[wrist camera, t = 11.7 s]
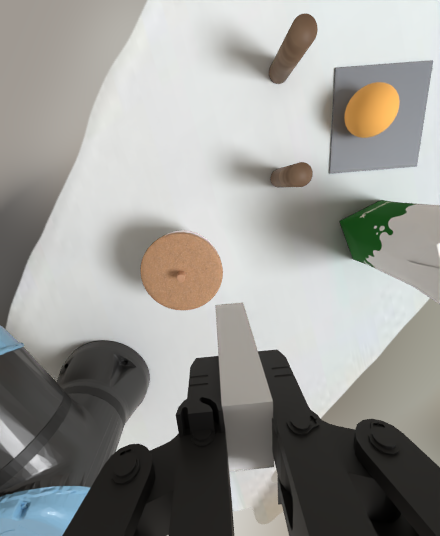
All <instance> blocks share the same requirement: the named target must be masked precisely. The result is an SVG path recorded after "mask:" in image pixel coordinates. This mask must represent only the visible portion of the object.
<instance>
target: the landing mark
mask: <svg viewBox="0 0 440 536" xmlns="http://www.w3.org/2000/svg"><path fill="white" fill-rule="evenodd" d="M432 65H433V61H419V62H406V63H393V64H379V65H366V66H352V67H339V68H335V82H334V101H333V119H332V138H331V156H330V173H342V172H354V171H366V170H378V169H390V168H402V167H414V166H417V162H418V156H419V149H420V143H421V136H422V130H423V123H424V117H425V110H426V104H427V97H428V91H429V84H430V78H431V71H432ZM376 82H384V83H387V84H390V85H391V86H393V87H394V88H395V90H396V91H397V93H398V95H399V110H398V113H397V115H396V117H395V119H394V121H393V122H392V123H391V125H390V126H389V127H388V128H387V129H385V130H384V131H383V132H381V133H380V134H378V135H375V136H373V137H368V138H361V137H357V136H354V135H353V134H351V133H350V132H349V131H348V129H347V127H346V125H345V118H344V117H345V110H346V107H347V105H348V103H349V101H350V99H351V98H352V97H353V95H354V94H355V93H356V92H357V91H358V90H360V89H361V88H363V87H364V86H366V85H368V84H371V83H376Z"/></svg>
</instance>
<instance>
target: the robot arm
mask: <svg viewBox="0 0 440 536" xmlns="http://www.w3.org/2000/svg"><path fill="white" fill-rule="evenodd" d="M216 322H217V338H218V354H219V356H214V357H204V358H196V359H195V361H194V362H193V364H192V365H191V367H190V379H189V387H188V397H187V399H186V400H185V401H184V402H183V403H182V404H181V405H180V406H179V408H178V410H177V413H176V419H177V425H178V431H179V434H178V435H177V436H176V437H175V438H174V439H172V440H171V441H170V442H168V443H166V444H164V445H162V446H160V447H157V448H155V449H153V450H150V451H149V450H148V448H147V447H145V446H143V445H140V444H130V445H128V446H125V447H123V448H120V449H119V450H118V451H117V452H116V449H117V446H118V443H119V440H120V437H121V434H122V431H123V428H124V425H125V423H126V422H127V420H128V419H129V418H130V416H131V415H132V414H133V412H134V411H135V410H136V408H137V407H138V406H139V405H140V404H141V402H142V401H143V399H144V397H145V395H146V392H147V389H148V386H149V381H150V374H149V370H148V367H147V365H146V363H145V361H144V360H143V358H142V357H141V356H140V355H139V354H138V353H137V352H135V351H134V350H133V349H131V348H129V347H128V346H125V345H123V344H120V343H117V342H112V341H95V342H91V343H87V344H85V345H83V346H81V347H79V348H78V349H76V350H75V351H74V352H73V353H72V354H71V356H70V357H69V358H68V359H67V360H66V362H65V363H64V365H63V366H62V368H61V371H60V374H59V377H58V380H57V382H56V381H55V380H54V379H53V378H52V377H51V376H50V375H49V374H48V373H47V372H46V371H45V370H44V369H43V367H42V366H41V365H40V364H39V363H38V362H37V361H36V360H35V359H34V358H33V357H32V356H31V355H30V354H29V352H28V351H27V350H26V349H25V348H24V347H23V346H24V344H23V343H19V342H18V341H17V340H16V339H15V338H14V337H13V336H12V335H11V334H10V333H9V332H7V331H6V330H5V329H4V328H3V327H2V326H1V325H0V536H167V535H169V536H234V527H233V512H232V499H231V488H230V476H229V472H231V471H240V470H250V469H259V468H269V467H274V461H275V465H276V469H277V473H278V505H279V504H282V506H283V511H284V515H285V519H286V523H287V528H288V532H289V536H440V467H439V466H437V464H435V463H434V462H433V461H432V460H431V459H430V458H429V457H428V456H427V455H426V454H425V453H424V452H422V451H421V450H420V449H419V448H418V447H417V446H416V445H415V444H414V443H413V442H412V441H410V439H409V438H407V437H406V436H405V435H404V434H403V433H402V432H401V431H399V430H398V429H396V428H395V427H394V426H392V425H390V424H388V423H386V422H384V421H381V420H375V419H367V420H362V421H361V422H360V423H358V424H357V427H356V430H354V429H349V428H344V427H339V426H335V425H332V424H328V423H326V422H324V421H322V420H321V419H320V418H319V417H318V415H317V414H316V413H314V412H313V411H311V410H310V408H309V407H308V405H307V403H306V400H305V398H304V396H303V394H302V392H301V389H300V387H299V385H298V383H297V381H296V379H295V376H294V375H293V372H292V370H291V368H290V365H289V363H288V361H287V359H286V357H285V356H284V355H283V354H282V353H281V352H279V351H278V350H268V351H257V347H256V344H255V341H254V337H253V334H252V331H251V328H250V324H249V321H248V318H247V314H246V311H245V308H244V304H243V303H233V304H222V305H216Z"/></svg>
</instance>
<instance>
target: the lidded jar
mask: <svg viewBox="0 0 440 536" xmlns="http://www.w3.org/2000/svg"><path fill="white" fill-rule="evenodd" d="M222 277H223V269H222V263H221V260H220V257H219V255H218V253H217V251H216V249H215V247H214V246H213V245H212V243H211V242H210V241H209V240H208V239H206V238H205V237H204V236H202V235H200V234H198V233H195V232H192V231H186V230H180V231H174V232H171V233H168V234H166V235H164V236H162V237H161V238H159V239H157V240H156V241H155V242H153V243H152V244H151V246H150V247H149V248H148V249H147V251H146V252H145V254H144V256H143V259H142V262H141V279H142V282H143V285H144V287H145V289H146V291H147V292H148V294H149V295H150V296H151V297H152V298H153V299H154V300H155V301H157V302H158V303H160V304H161V305H163V306H165V307H168V308H171V309H175V310H191V309H195V308H198V307H200V306H202V305H204V304H206V303H207V302H209V301H210V300H211V299H212V298H213V297H214V296H215V294H216V293H217V291H218V290H219V288H220V285H221V282H222Z"/></svg>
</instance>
